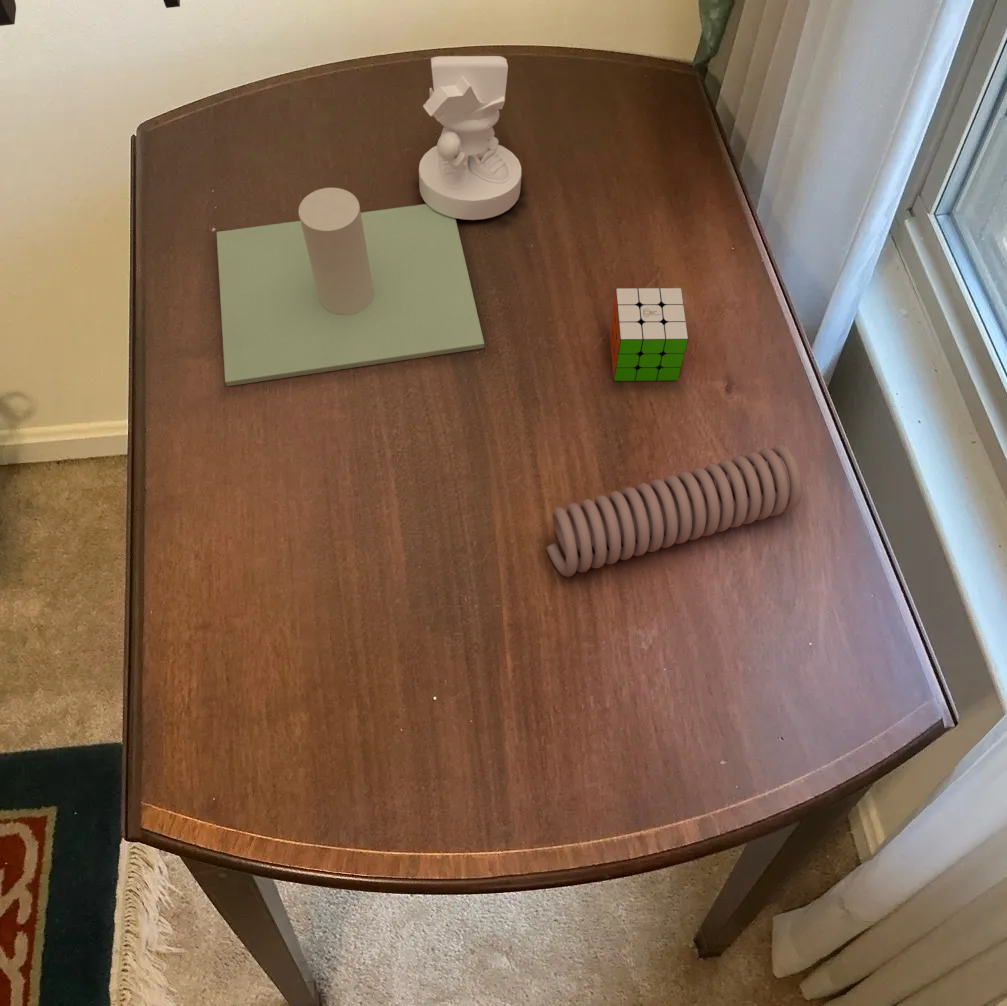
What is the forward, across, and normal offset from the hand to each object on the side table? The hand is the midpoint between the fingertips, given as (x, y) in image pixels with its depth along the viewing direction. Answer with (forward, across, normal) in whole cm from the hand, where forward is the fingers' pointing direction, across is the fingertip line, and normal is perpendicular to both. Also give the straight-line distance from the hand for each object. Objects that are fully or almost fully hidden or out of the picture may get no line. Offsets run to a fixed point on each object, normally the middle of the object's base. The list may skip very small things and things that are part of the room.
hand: (92, 7), depth 51 cm
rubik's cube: (+28, +32, -7) cm, 43 cm away
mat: (+28, +10, +4) cm, 30 cm away
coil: (+28, +30, -22) cm, 47 cm away
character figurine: (+28, +22, +14) cm, 38 cm away
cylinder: (+28, +10, +3) cm, 29 cm away
